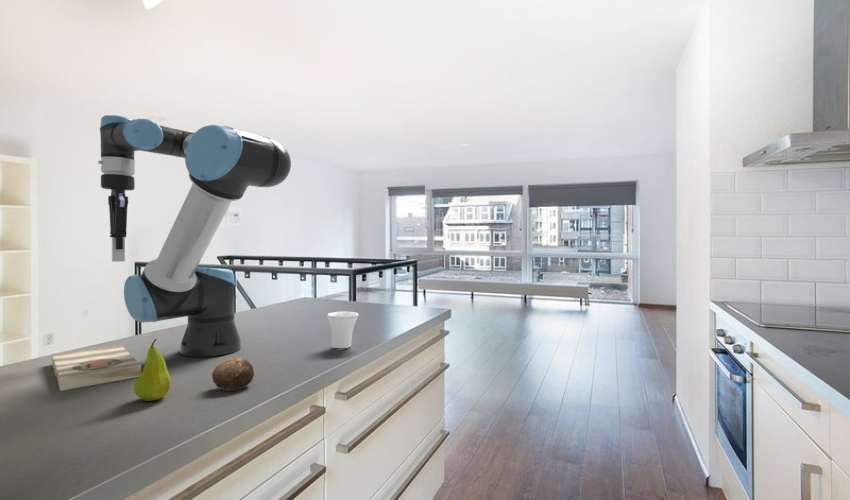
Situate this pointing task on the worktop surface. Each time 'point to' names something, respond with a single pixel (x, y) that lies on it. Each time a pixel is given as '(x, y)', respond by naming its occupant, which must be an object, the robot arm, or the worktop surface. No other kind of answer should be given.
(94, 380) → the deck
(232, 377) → the brown potato
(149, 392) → the fruit
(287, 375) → the worktop surface
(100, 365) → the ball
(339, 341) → the cup
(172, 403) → the worktop surface
